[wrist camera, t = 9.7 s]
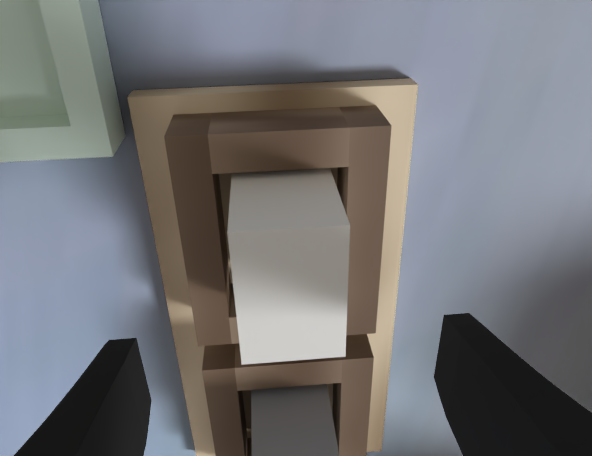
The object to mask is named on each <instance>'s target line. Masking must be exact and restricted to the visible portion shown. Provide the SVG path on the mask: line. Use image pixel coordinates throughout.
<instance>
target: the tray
mask: <svg viewBox="0 0 592 456" xmlns="http://www.w3.org/2000/svg"><path fill="white" fill-rule="evenodd" d="M125 136H126V135H125V131H124V126H123V121H122V116H121V111H120V106H119V101H118V96H117V91H116V86H115V81H114V76H113V71H112V66H111V61H110V56H109V51H108V46H107V41H106V36H105V32H104V27H103V22H102V17H101V12H100V7H99V2H98V0H0V162H18V161H38V160H58V159H77V158H97V157H113V156H114V154H115V153H116V151H117V149H118V148H119V146H120V145H121V143H122V141H123V140H124V138H125Z"/></svg>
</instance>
